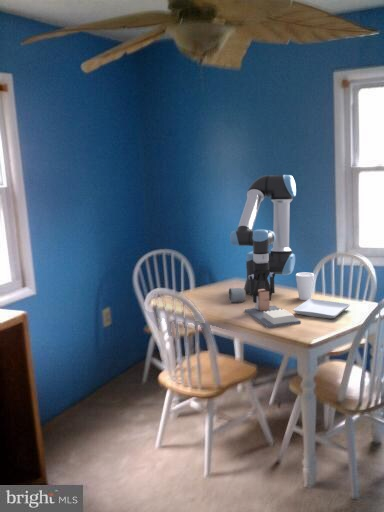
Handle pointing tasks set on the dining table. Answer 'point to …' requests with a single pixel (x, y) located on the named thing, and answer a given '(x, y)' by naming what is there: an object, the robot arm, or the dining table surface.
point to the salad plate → (321, 308)
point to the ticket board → (265, 322)
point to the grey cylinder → (237, 295)
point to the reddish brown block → (263, 299)
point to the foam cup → (305, 285)
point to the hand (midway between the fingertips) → (262, 308)
